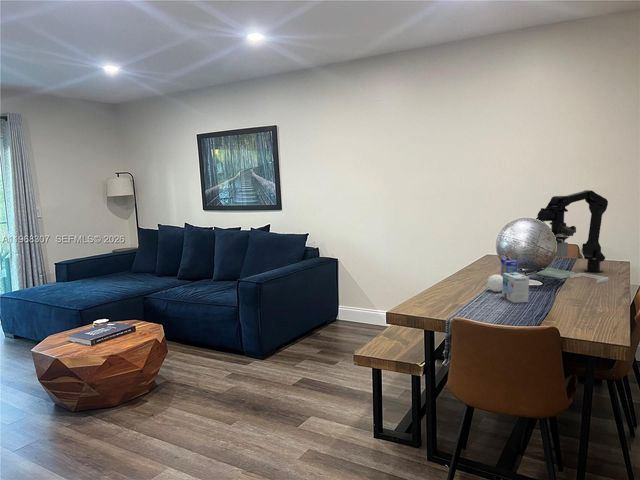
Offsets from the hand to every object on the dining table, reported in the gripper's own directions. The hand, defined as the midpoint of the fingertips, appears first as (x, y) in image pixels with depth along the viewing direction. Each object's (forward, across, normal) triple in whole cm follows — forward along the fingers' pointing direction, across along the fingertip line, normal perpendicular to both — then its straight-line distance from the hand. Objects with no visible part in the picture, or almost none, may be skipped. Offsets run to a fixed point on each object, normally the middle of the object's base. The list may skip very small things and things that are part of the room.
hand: (556, 250), depth 242 cm
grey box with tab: (+2, 0, 0) cm, 2 cm away
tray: (+13, 0, 0) cm, 13 cm away
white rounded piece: (+13, -51, -8) cm, 53 cm away
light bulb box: (+13, -56, -20) cm, 61 cm away
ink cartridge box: (+13, -36, 0) cm, 38 cm away
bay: (+13, +4, -16) cm, 21 cm away
